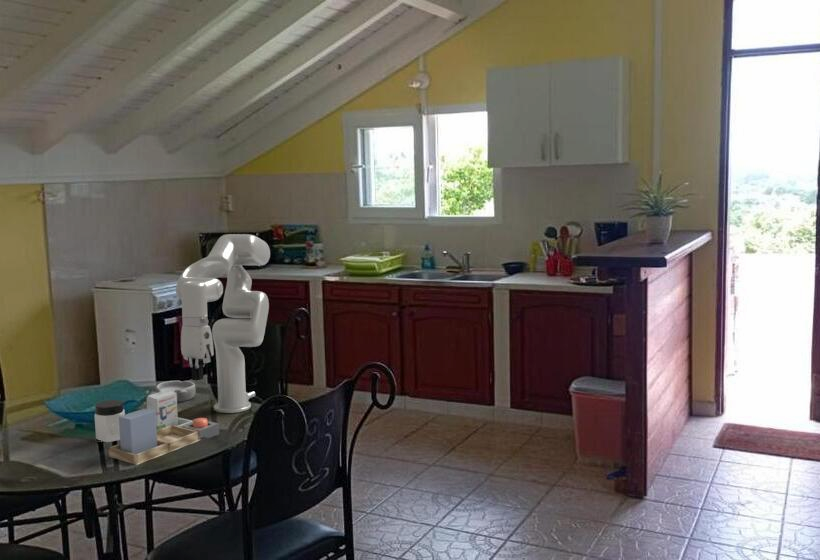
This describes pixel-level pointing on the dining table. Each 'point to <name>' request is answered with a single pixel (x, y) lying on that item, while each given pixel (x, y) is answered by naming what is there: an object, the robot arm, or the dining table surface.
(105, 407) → the jar
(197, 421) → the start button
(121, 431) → the seated billet
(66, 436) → the dining table surface
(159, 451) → the wooden compartment tray
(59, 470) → the dining table surface
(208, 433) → the grey square frame
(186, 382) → the dish
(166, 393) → the ink box
